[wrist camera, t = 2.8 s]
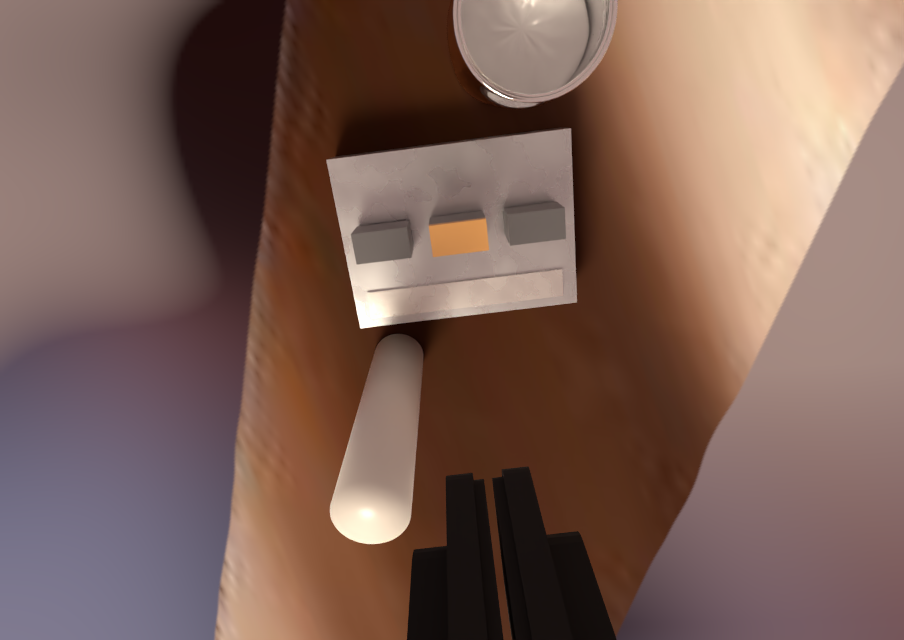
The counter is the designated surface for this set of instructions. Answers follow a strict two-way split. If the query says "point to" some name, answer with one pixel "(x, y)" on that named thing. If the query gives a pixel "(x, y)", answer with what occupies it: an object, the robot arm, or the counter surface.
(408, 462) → the post
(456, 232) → the paddle mid
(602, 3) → the beer glass
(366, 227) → the grey rectangular box
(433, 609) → the robot arm
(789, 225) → the counter surface
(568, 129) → the breaker panel
